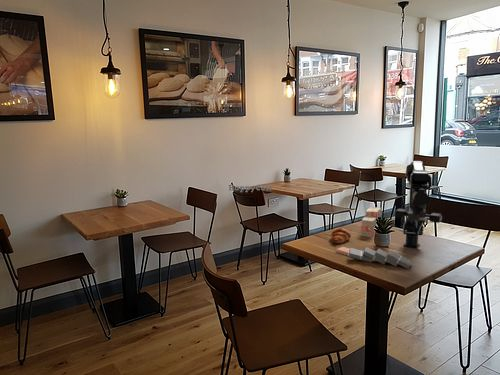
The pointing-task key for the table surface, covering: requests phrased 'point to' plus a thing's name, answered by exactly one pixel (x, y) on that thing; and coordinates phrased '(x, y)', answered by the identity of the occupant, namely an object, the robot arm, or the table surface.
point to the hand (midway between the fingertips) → (416, 233)
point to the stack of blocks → (370, 221)
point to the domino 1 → (343, 250)
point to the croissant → (340, 235)
